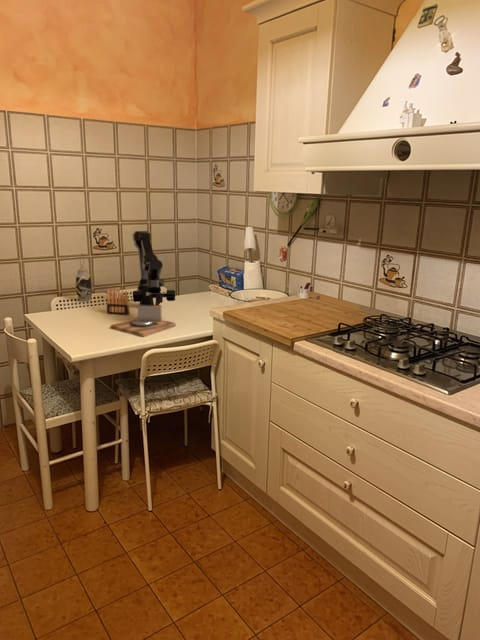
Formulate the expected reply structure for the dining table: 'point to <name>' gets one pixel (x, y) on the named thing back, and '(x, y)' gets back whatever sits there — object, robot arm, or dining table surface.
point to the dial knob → (148, 315)
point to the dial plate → (142, 327)
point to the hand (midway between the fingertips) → (154, 312)
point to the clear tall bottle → (83, 284)
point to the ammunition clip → (117, 303)
